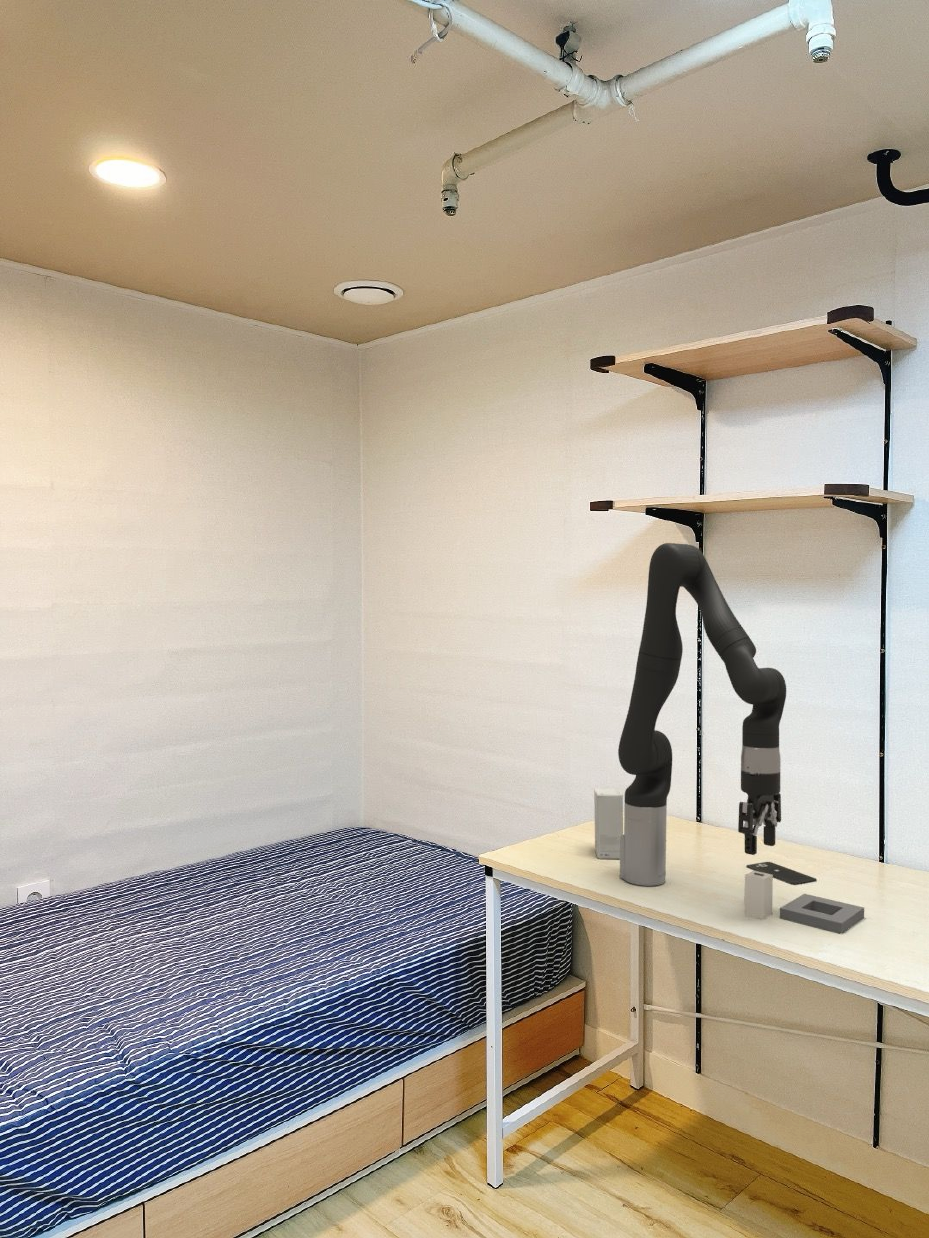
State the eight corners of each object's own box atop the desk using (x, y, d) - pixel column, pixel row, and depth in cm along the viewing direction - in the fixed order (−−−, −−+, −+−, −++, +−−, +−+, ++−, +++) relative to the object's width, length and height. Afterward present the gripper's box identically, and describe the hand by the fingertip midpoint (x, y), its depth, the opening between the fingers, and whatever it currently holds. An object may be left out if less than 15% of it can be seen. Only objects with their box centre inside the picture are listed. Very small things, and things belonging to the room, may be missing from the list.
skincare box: (623, 859, 217) (624, 795, 217) (595, 859, 218) (596, 794, 217) (619, 850, 226) (620, 787, 225) (593, 849, 226) (593, 787, 226)
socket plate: (779, 917, 179) (779, 907, 179) (804, 903, 188) (804, 893, 188) (841, 933, 171) (841, 923, 171) (864, 917, 180) (864, 907, 180)
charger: (744, 914, 181) (744, 873, 181) (753, 909, 184) (753, 869, 183) (763, 919, 178) (764, 878, 178) (772, 914, 181) (772, 873, 181)
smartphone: (768, 864, 216) (768, 860, 216) (818, 882, 203) (818, 878, 203) (744, 868, 213) (744, 864, 213) (793, 887, 199) (793, 883, 199)
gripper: (758, 761, 188) (757, 839, 188) (726, 770, 177) (725, 853, 178) (793, 765, 183) (793, 845, 183) (762, 775, 172) (762, 860, 173)
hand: (760, 849), depth 180 cm, fingers open, 8 cm apart
